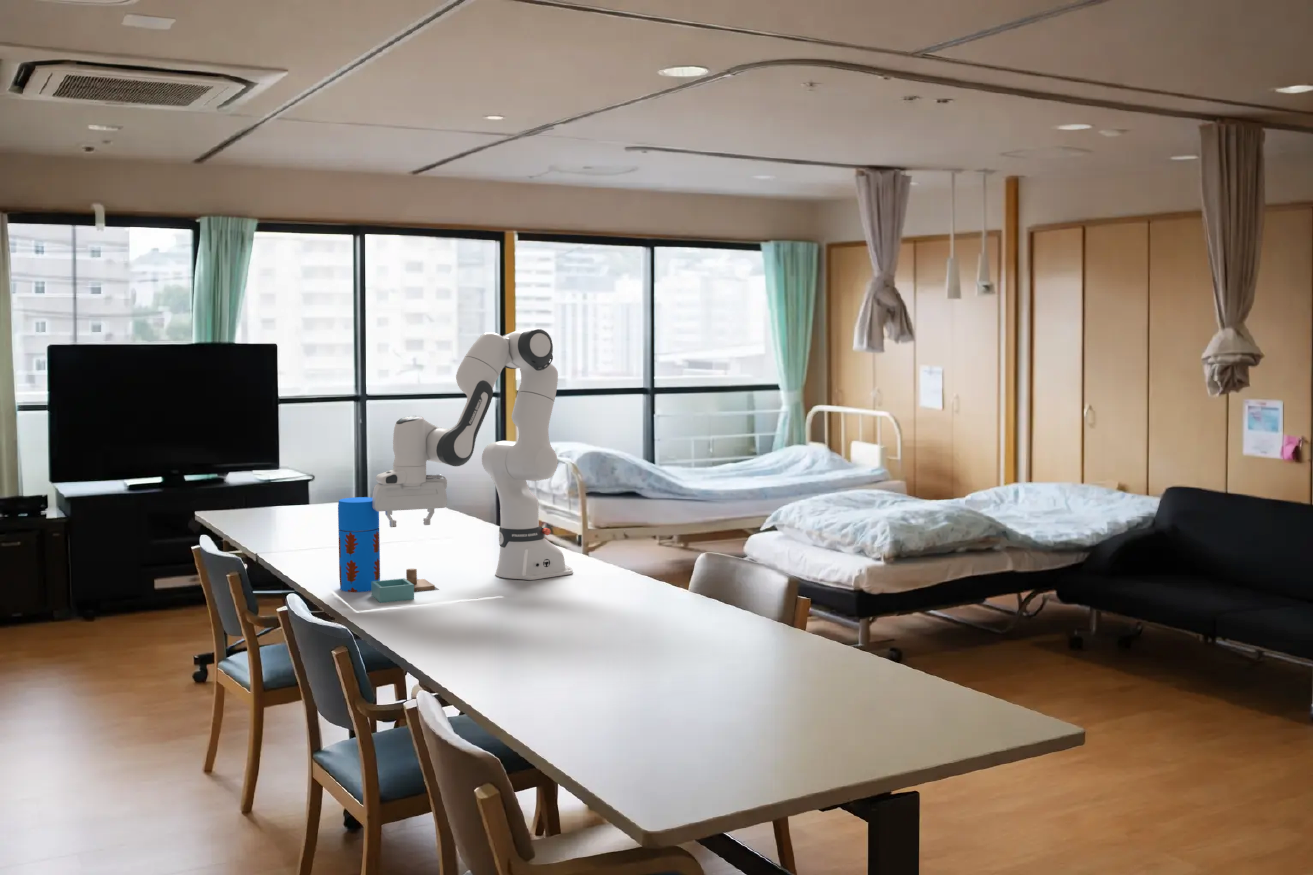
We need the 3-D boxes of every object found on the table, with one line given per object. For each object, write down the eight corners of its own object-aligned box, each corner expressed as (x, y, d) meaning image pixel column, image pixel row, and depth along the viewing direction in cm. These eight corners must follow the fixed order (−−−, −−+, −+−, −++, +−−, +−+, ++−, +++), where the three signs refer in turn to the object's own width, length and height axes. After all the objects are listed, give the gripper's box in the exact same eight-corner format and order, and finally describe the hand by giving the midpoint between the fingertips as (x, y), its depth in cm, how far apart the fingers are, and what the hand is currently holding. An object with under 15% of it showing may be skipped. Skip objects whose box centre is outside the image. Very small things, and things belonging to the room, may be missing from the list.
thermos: (369, 595, 322) (368, 503, 320) (332, 593, 324) (331, 501, 322) (386, 586, 333) (385, 497, 331) (350, 585, 335) (349, 496, 333)
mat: (426, 583, 337) (426, 581, 337) (439, 591, 327) (439, 589, 326) (384, 587, 332) (384, 585, 332) (396, 596, 321) (396, 593, 321)
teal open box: (404, 594, 323) (404, 578, 322) (414, 601, 315) (413, 584, 314) (371, 598, 318) (371, 581, 318) (380, 604, 311) (379, 587, 310)
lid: (424, 582, 336) (424, 564, 335) (434, 589, 327) (434, 571, 326) (389, 585, 331) (388, 567, 331) (398, 592, 322) (398, 574, 322)
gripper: (443, 473, 334) (443, 522, 335) (370, 476, 325) (370, 526, 326) (450, 475, 328) (450, 525, 329) (375, 478, 319) (376, 529, 320)
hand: (410, 525), depth 328 cm, fingers open, 8 cm apart
